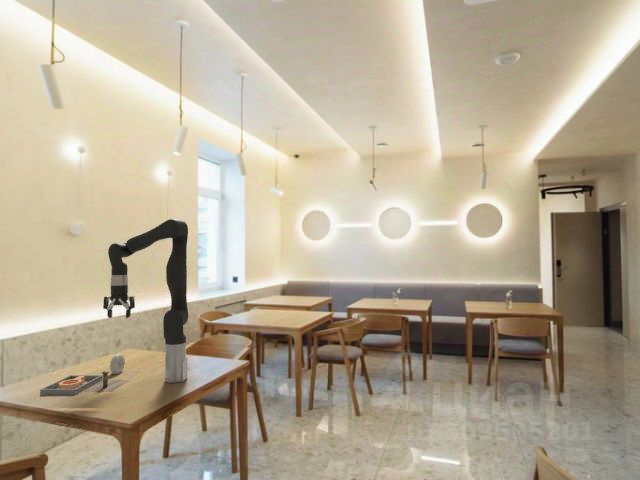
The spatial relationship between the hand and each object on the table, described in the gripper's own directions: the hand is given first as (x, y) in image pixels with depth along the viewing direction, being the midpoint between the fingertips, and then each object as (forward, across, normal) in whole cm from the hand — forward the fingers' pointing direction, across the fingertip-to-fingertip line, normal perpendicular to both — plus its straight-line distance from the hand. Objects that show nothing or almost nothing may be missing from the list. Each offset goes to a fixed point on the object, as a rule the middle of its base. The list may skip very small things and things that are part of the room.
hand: (118, 317), depth 198 cm
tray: (+28, +10, +18) cm, 35 cm away
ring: (+27, +10, +18) cm, 35 cm away
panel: (+28, -4, +17) cm, 33 cm away
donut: (+28, +2, -3) cm, 29 cm away
